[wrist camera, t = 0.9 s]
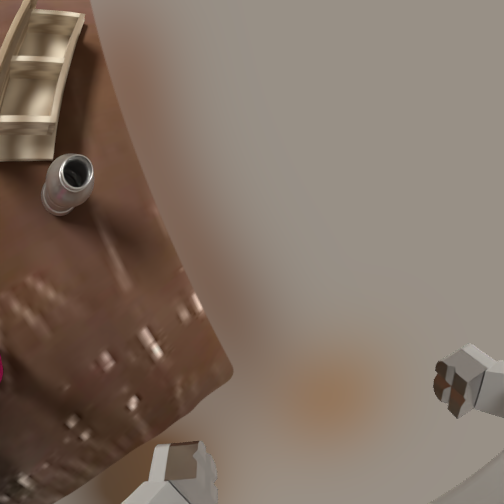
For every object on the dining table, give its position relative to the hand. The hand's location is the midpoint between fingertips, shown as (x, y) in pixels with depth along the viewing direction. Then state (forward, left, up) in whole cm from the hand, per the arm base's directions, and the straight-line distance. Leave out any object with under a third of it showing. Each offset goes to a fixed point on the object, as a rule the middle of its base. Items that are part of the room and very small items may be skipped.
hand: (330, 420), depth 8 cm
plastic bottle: (-2, +12, -47) cm, 49 cm away
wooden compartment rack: (-10, +33, -47) cm, 58 cm away
